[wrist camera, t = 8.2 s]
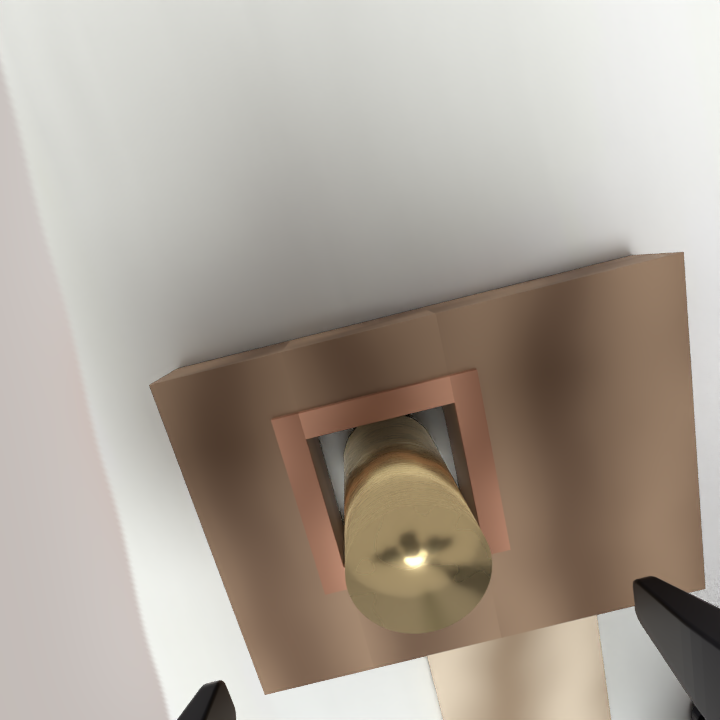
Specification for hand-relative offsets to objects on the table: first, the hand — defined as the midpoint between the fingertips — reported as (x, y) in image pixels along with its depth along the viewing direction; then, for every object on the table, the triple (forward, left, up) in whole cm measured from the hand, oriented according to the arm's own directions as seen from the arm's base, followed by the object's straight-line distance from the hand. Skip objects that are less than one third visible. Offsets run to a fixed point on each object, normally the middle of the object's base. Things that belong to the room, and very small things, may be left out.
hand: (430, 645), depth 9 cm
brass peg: (0, 0, -9) cm, 9 cm away
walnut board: (-2, +6, -9) cm, 11 cm away
